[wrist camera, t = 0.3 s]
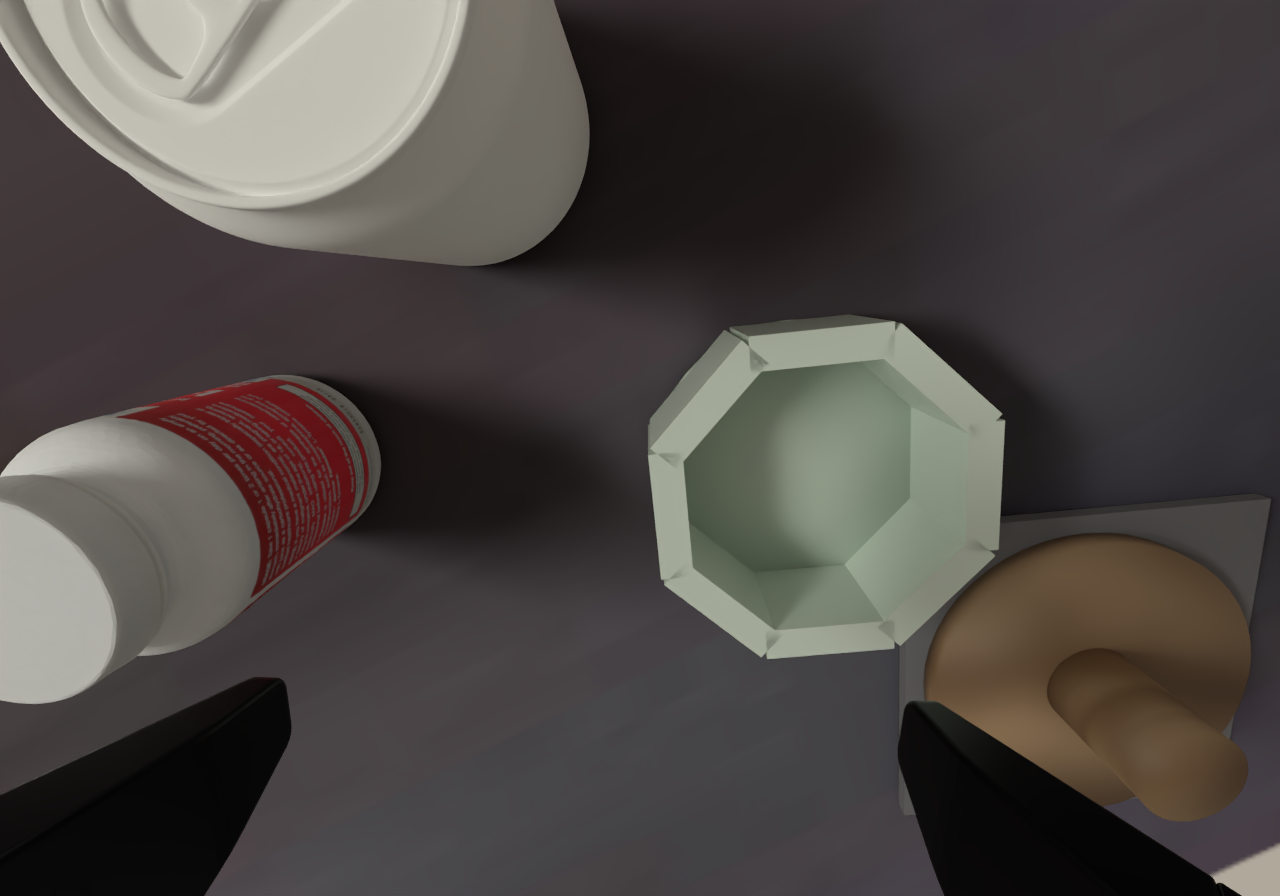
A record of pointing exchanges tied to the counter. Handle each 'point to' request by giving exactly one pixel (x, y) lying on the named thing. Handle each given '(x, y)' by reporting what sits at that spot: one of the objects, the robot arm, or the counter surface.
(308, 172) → the beverage can
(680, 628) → the counter surface
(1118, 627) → the lid
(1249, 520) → the mat
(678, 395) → the bowl
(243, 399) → the pill bottle
